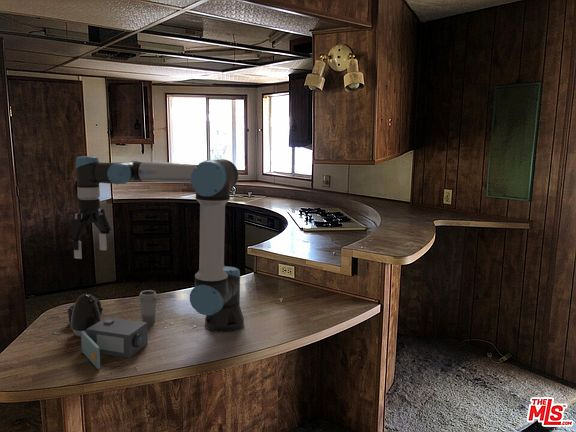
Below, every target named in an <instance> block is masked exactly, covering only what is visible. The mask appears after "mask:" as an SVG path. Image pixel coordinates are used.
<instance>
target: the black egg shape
mask: <svg viewBox="0 0 576 432" xmlns="http://www.w3.org/2000/svg"><path fill="white" fill-rule="evenodd" d="M89 294H90V293H89ZM89 294H88V293H84V294H81V295H79V296H78V298H77V299H76V300H75V303H74V304H73V305H74V308H73V312H72V317H71V324H70V328H71V330H72V332H73V334H75V336H77V337H79V338H81V331H85V333H86V334H87V332H86V329H87V328H89V327H91V326H92V325H94V324H96V323H98V322H99V321H101V320H102V315H101V316H100V312H99V309H98V306H97V304H96V302H95V299H94V298H93V297H92V296H93V295H92V296H91V294H90V295H89Z"/></svg>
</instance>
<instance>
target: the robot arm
mask: <svg viewBox="0 0 576 432" xmlns="http://www.w3.org/2000/svg"><path fill="white" fill-rule="evenodd" d="M75 160H76V161H75V163H76V165H75V173H76V182H77V184H76V187H77V190H76V191H77V198H78V199H77V207H78V208H77V209H79V210H80V211H79V213H78V212H77V213H73V215H72V218H73V219H72V222H71V226H70V229H69V233H68V235H67V240H68V241H70V242H72V250H73V258H74V259H77V260H78V259H79V260H82V259H83V256H82V255H83V254H82V253H83V252H82V240H80V239H81V238H82V236H83V234H84V231H85V230H86V227H87V226H89V224H94V226H95V227H96V228H97V230H98V231H99V234H98V238H99V241H98V242H99V250H100V251H107V250H108V245H107V244H108V242H107V241H108V235H109V234H110V232H111V231H112V230H111V229H112V228H111V227H110V224H109V221H108V219H107V216H106V213H105V209H104V208H101V199H100V196H101V192H100V184H112V185H113V184H114V185H125V184H127V183H128V182H149V183H150V182H154V183H155V182H156V183H175V184H176V183H177V184H179V183H180V184H191V186H192V187H191V188H192V189H193V190H194V192H195V200H196V201H197V202H198V203H199V205H200V206H199V258H198V259H199V260H198V261H199V262H198V263H199V267H198V268H199V269H198V271H197V272H196V273H195V274H194V287H193V288H192V289H191V291H190V293H189V303H190V305H191V307H192V308H193V309H194V310H195V311H196V312H197V313H198V314H199V315H200V314H201V315H202V316H203V315H204V316H205V318H204V326H205V328H206V329H208V330H210V331H213V332H217V333H218V332H219V333H227V332H235V331H238V330H240V329H241V328H243V327H244V325H245V318H244V315H243V311H242V308H241V306H240V305H241V303H240V299H241V296H240V295H241V293H240V292H241V271H240V269H239V268H237V267H234V266H227V265H226V266H225V234H226V233H225V227H226V204H227V203H228V202H230V200H231V198H230V197H231V190H232V189H233V188H234V187H235V186H236V185H237V183H238V181H239V171H238V168H237V166H236V165H235V163H233V162H232V161H231V160H228V159H224V158H221V159H219V158H218V159H207V160H203V161H202V162H199V163H198V162H197V163H195V162H193V163H192V162H164V161H163V162H158V161H157V162H156V161H140V160H139V161H138V160H130V161H122V162H121V161H119V162H100V161H99V157H97V156H94V155H87V156H86V155H83V156H77V157H76V159H75Z"/></svg>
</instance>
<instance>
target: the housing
mask: <svg viewBox="0 0 576 432" xmlns="http://www.w3.org/2000/svg"><path fill="white" fill-rule="evenodd" d="M86 332H87V335H88V336H89V337H90V338H91V339H92V340H93V341H94V342H95V343H96V344H97V345H98V346H99V348H100V355H106V356H107V355H108V356H112V357H119V358H125V359H131V358H132V357H133V356H135V355H136V354H138V352H140V351H141V350H142V349H144V348H145V347H146V346H147V345H148V344H149V342H148V324H147V323H146V322H143V321H139V320H138V321H137V320H131V319H124V318H117V317H110V316H107V317H104V318H103V319H101V321H99V322H98V323H96V324H94V325H92V326H91V327H89V328H87V329H86Z"/></svg>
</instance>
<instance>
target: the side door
mask: <svg viewBox="0 0 576 432" xmlns="http://www.w3.org/2000/svg"><path fill="white" fill-rule="evenodd" d="M80 344H81V346H80V348H81V351H80V352H82V353H83V354H84V356H86V358H87V359H88V360H89V361H90V362H91V363H92V365H93V366H94V367H95V368H96V369H97V370H99V369H101V356H100V355H101V354H100V348H99V346H98V345H97V344H96V343H95V342H94V341H93V340H92V339H91V338H90V337H89V336H88V335H87V334H86V333H85V331H81V337H80Z"/></svg>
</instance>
